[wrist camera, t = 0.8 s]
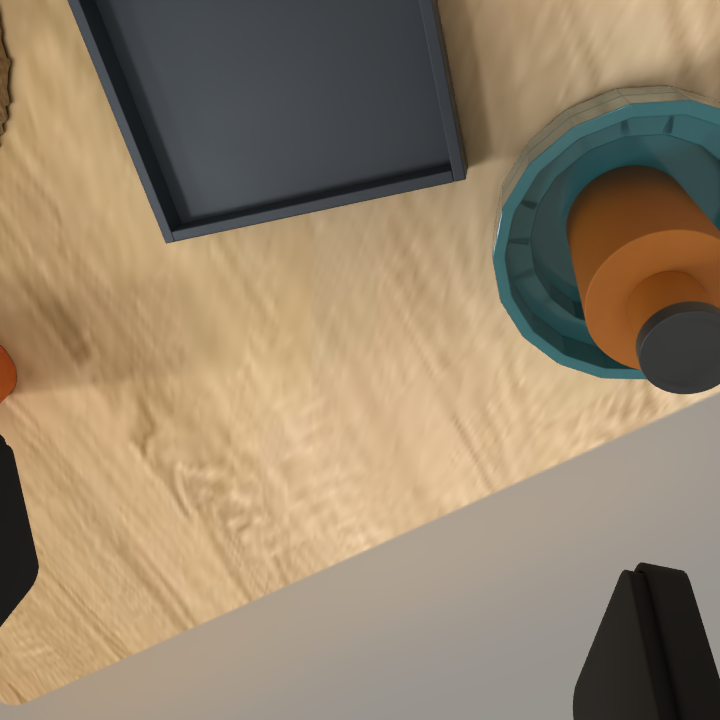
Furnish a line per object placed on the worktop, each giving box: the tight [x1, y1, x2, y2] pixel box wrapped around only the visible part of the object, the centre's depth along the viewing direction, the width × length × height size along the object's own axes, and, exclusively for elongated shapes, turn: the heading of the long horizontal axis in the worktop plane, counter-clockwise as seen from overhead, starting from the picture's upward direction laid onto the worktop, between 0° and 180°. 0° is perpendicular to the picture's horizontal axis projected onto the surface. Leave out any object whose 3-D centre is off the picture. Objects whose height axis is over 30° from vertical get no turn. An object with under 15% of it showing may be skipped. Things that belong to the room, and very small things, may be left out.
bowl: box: [492, 86, 720, 379], centre depth 32 cm, size 13×13×5 cm
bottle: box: [566, 165, 720, 394], centre depth 28 cm, size 6×6×14 cm
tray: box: [68, 0, 468, 243], centre depth 33 cm, size 17×13×2 cm
